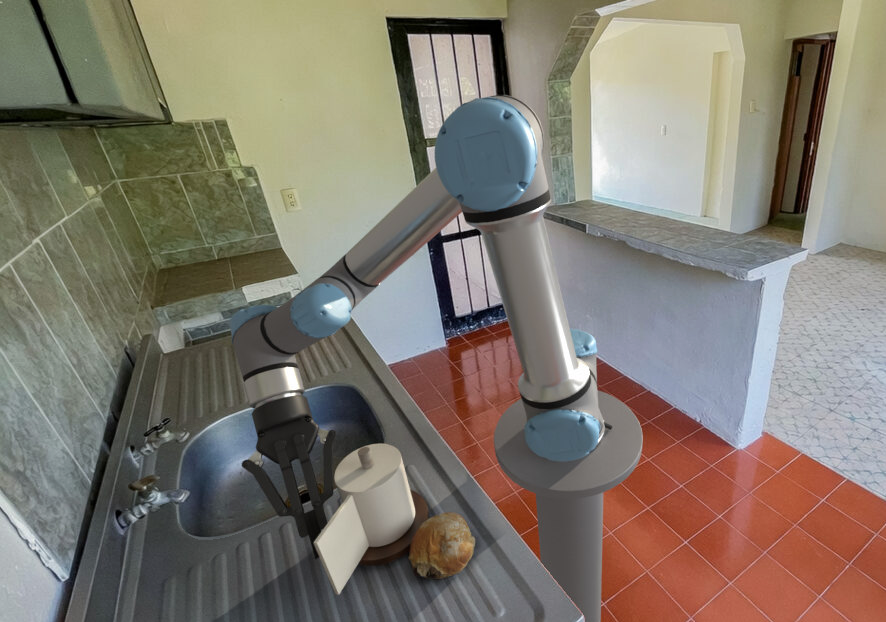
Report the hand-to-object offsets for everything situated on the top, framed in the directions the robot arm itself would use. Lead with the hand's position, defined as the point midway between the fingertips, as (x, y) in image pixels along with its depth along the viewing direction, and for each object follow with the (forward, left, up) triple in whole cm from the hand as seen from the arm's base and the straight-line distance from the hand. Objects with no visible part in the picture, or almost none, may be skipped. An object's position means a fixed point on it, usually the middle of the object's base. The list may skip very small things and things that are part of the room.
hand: (321, 555), depth 66 cm
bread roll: (-16, 0, -7) cm, 18 cm away
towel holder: (-7, -8, -7) cm, 13 cm away
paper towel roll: (-5, -6, -5) cm, 9 cm away
